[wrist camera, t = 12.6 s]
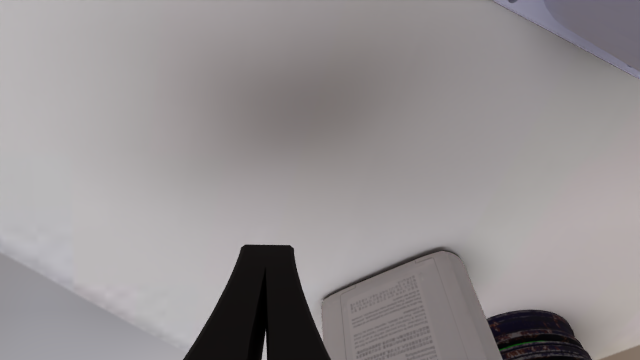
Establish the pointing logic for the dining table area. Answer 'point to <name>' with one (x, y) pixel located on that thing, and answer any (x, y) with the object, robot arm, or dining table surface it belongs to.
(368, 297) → the photo printer
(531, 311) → the storage jar
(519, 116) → the dining table surface
